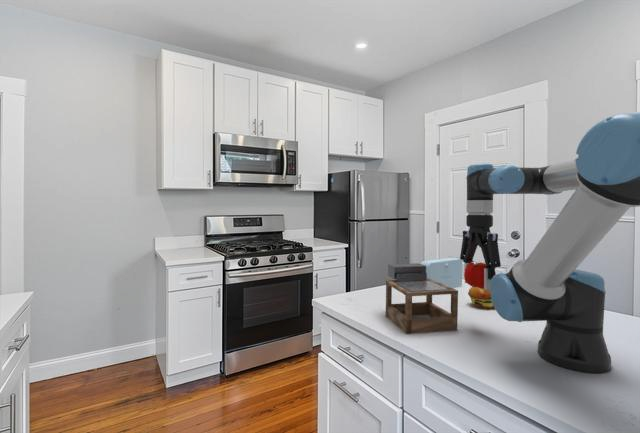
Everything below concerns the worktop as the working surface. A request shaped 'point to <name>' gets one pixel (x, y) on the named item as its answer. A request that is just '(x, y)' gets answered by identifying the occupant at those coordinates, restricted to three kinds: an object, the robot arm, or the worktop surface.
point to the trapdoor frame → (421, 309)
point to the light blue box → (445, 271)
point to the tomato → (475, 274)
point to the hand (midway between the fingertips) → (478, 286)
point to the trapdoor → (412, 277)
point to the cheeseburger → (481, 298)
